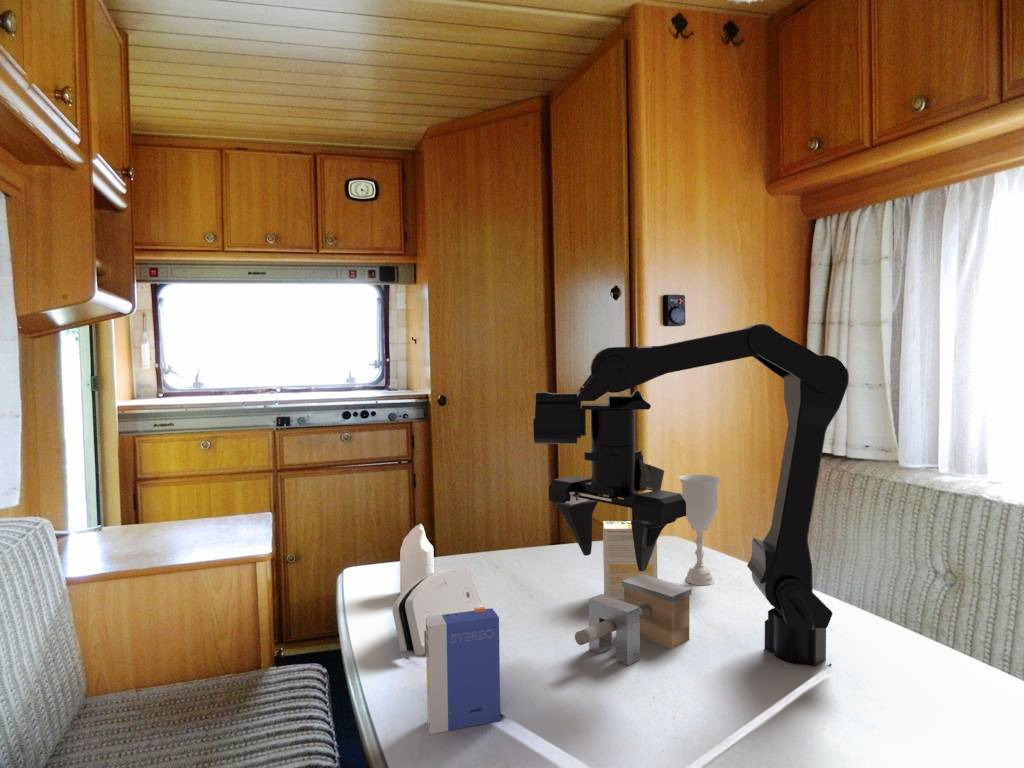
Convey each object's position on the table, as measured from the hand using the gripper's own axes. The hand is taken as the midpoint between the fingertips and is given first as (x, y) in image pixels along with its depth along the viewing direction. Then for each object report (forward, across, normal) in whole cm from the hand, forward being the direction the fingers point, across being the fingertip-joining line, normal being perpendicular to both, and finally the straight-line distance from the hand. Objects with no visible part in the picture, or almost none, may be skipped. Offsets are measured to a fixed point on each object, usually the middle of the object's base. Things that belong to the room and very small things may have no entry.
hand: (613, 562), depth 89 cm
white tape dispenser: (+13, +21, +12) cm, 28 cm away
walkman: (+13, +1, +24) cm, 27 cm away
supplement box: (+13, +10, -16) cm, 23 cm away
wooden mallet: (+13, -1, -1) cm, 13 cm away
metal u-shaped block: (+12, -1, +1) cm, 12 cm away
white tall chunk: (+13, +37, +6) cm, 40 cm away
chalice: (+13, +9, -34) cm, 37 cm away
